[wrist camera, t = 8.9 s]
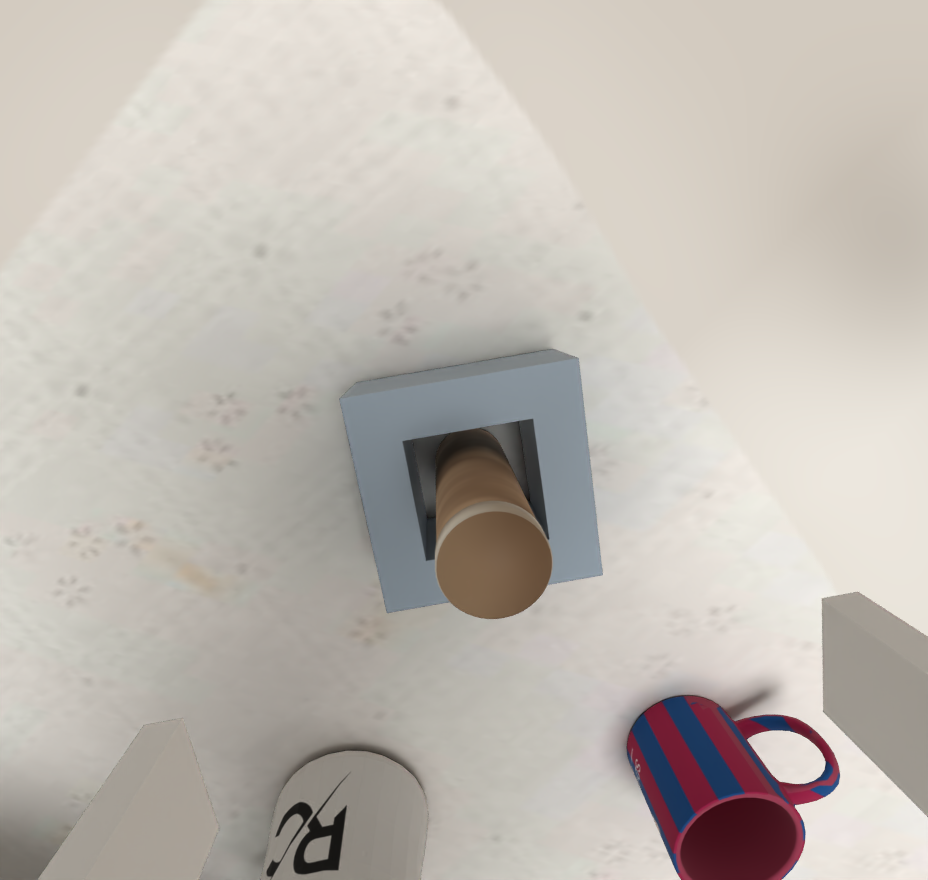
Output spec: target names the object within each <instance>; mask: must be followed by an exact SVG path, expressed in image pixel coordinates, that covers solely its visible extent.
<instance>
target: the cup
mask: <svg viewBox="0 0 928 880" xmlns="http://www.w3.org/2000/svg"><path fill="white" fill-rule="evenodd" d="M771 730H783V731H791V732H795V733H798V734H800V735H802V736H804V737H806V738H807V739H809V740H810V741H811V742H812V743H814V744H815V745H816V746H817V747H818V748H819V749H820V751H821V752H822V754H823V756H824V758H825V761H826V765H825V770H824V772H823V773H822V775H821V776H820V777H819V778H817V779H816V780H815V781H812V782H809V783H806V784H790V783H785V782H779V781H778V780H777V779H776V778H775V777H774V776H773V775H772V774H771V773H770V772H769V770H768V769H767V767H766V766H765V765H764V763H763V762H762V760H761V759H760V758H759V756H758V755H757V754H756V752H755V751H754V749H753V748H752V747H751V745H750V744H749V743H748V741H747V739H748V738H750V737H751V736H753V735H755V734H758V733H761V732H765V731H771ZM627 755H628V759H629V762H630V765H631V767H632V769H633V772H634V774H635V776H636V779H637V781H638V783H639V786H640V788H641V790H642V793H643V795H644V797H645V800H646V802H647V804H648V807H649V809H650V811H651V814H652V816H653V818H654V821H655V823H656V825H657V828H658V830H659V833H660V835H661V837H662V840H663V842H664V844H665V847H666V849H667V851H668V854H669V856H670V858H671V861H672V863H673V865H674V868H675V870H676V872H677V874H678V875H679V877H680V879H681V880H782V879H783V878H784V877H785V876H786V875H787V874H788V873H789V872H790V871H791V870H792V869H793V867H794V866H795V864H796V863H797V861H798V860H799V858H800V856H801V853H802V851H803V848H804V844H805V827H804V823H803V820H802V818H801V816H800V814H799V813H798V811H797V810H796V808H795V805H799V804H804V803H809V802H813V801H817V800H819V799H821V798H823V797H825V796H827V795H828V794H830V793H831V792H832V791H834V789H835V788H836V787H837V785H838V784H839V779H840V772H839V766H838V763H837V760H836V758H835V755H834V753H833V752H832V750H831V748H830V747H829V745H828V744H827V743H826V742H825V740H824V739H823V738H822V737H821V736H820V735H819V734H818V733H817V732H816V731H815V730H814V729H812V728H811V727H810V726H809V725H807V724H806V723H804V722H802V721H800V720H798V719H796V718H793V717H789V716H784V715H760V716H754V717H749V718H744V719H741V720H738V721H734V720H732V719H731V718H730V717H729V715H728V714H727V713H726V711H725V710H724V709H723V708H721V707H720V706H719V705H718V704H716V703H714V702H713V701H711V700H708V699H705V698H702V697H696V696H679V697H673V698H670V699H666V700H664V701H662V702H659V703H657V704H655V705H654V706H652V707H651V708H649V709H648V710H647V711H646V712H645V713H643V714H642V715H641V716H640V718H639V719H638V720H637V721H636V723H635V724H634V726H633V728H632V730H631V732H630V735H629V738H628V743H627Z"/></svg>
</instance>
